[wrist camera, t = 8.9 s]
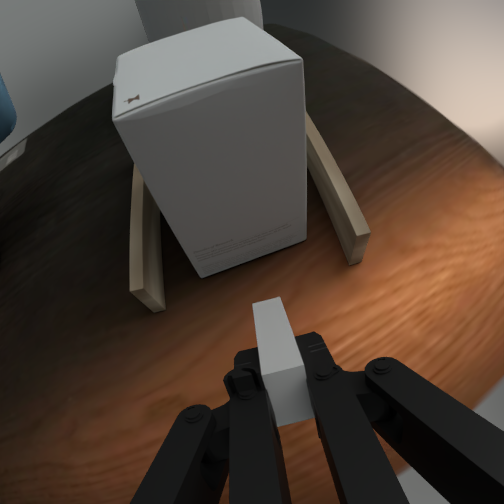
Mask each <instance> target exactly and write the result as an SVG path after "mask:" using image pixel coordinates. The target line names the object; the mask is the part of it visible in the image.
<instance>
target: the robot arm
mask: <svg viewBox="0 0 504 504" xmlns="http://www.w3.org/2000/svg"><path fill="white" fill-rule="evenodd" d="M16 118H17V116H16V111H15V108H14V106H13V103H12V101H11V98H10V96H9V94H8V91H7V89H6V86H5V84H4V81H3V79H2V76H1V74H0V143H1V142H2V141H3V140H4V139H5V138H6V137H7V136H8V135H10V133H11V132H12V131H13V129H14V127H15V125H16ZM253 312H254V320H255V328H256V336H257V344H258V347H256V348H251V349H247V350H243V351H239V352H238V353H237V355H236V356H235V358H234V369H233V370H231V371H230V372H228V373H227V374H226V375H225V377H224V380H223V381H224V384H225V386H226V389H227V392H228V394H229V397H230V400H229V401H228V402H227V403H226V404H224V405H222V406H220V407H218V408H215V409H213V410H211V409H210V408H209V407H208V406H206V405H201V404H199V405H192V406H190V407H187V408H186V409H184V410H183V411H181V412H180V414H179V415H178V416H177V418H176V420H175V422H174V424H173V426H172V428H171V429H170V431H169V433H168V435H167V437H166V439H165V440H164V442H163V444H162V446H161V448H160V450H159V451H158V453H157V455H156V457H155V459H154V461H153V462H152V464H151V466H150V468H149V470H148V472H147V473H146V475H145V477H144V479H143V481H142V482H141V484H140V486H139V488H138V490H137V491H136V493H135V495H134V497H133V499H132V501H131V502H130V504H218V503H219V500H220V497H221V494H222V491H223V488H224V485H225V482H226V479H227V476H228V473H229V504H292V503H291V497H290V491H289V486H288V480H287V474H286V469H285V463H284V457H283V451H282V446H281V440H280V435H279V432H278V429H277V427H278V426H283V425H287V424H291V423H295V422H299V421H303V420H307V419H311V418H314V417H315V420H316V425H317V430H318V435H319V438H320V439H321V442H322V445H323V448H324V452H325V455H326V458H327V462H328V465H329V468H330V472H331V475H332V478H333V481H334V485H335V488H336V491H337V495H338V498H339V501H340V504H409V502H408V500H407V497H406V495H405V493H404V491H403V489H402V487H401V485H400V483H399V481H398V479H397V477H396V475H395V473H394V470H393V468H392V466H391V464H390V462H389V460H388V458H387V456H386V454H385V452H384V450H383V448H382V446H381V444H380V442H379V440H378V438H377V436H376V434H375V432H374V430H375V431H376V432H377V433H378V434H379V435H380V436H381V437H382V438H383V439H384V440H385V441H386V442H387V443H388V444H389V445H390V446H391V447H392V448H393V449H394V450H395V451H396V452H397V453H398V454H399V455H400V456H401V457H402V458H403V459H404V460H405V461H406V462H407V463H408V464H409V465H410V466H411V467H413V468H414V469H415V470H416V471H417V472H418V473H419V474H420V475H421V476H422V477H423V478H424V479H425V480H426V481H427V482H428V483H429V484H430V485H431V486H432V487H433V488H435V489H436V490H437V491H438V492H439V493H440V494H441V495H442V496H443V497H444V498H445V499H446V500H447V501H448V502H449V503H450V504H504V431H502V430H501V429H499V428H498V427H496V426H494V425H493V424H492V423H490V422H488V421H487V420H486V419H484V418H482V417H481V416H480V415H478V414H476V413H475V412H474V411H472V410H471V409H469V408H468V407H466V406H465V405H463V404H462V403H460V402H459V401H457V400H456V399H454V398H453V397H451V396H450V395H448V394H447V393H445V392H444V391H442V390H441V389H439V388H438V387H436V386H435V385H433V384H432V383H430V382H429V381H427V380H426V379H424V378H423V377H422V376H420V375H419V374H417V373H416V372H414V371H413V370H411V369H410V368H408V367H407V366H405V365H404V364H402V363H401V362H399V361H398V360H396V359H394V358H391V357H381V358H377V359H374V360H372V361H370V362H369V363H368V364H367V365H366V367H365V371H358V372H348V371H344V370H342V368H341V367H340V366H338V365H336V364H335V362H334V360H333V358H332V356H331V354H330V352H329V350H328V348H327V346H326V344H325V343H324V340H323V338H322V337H321V335H319V334H317V333H316V332H311V333H307V334H304V335H300V336H296V337H294V335H293V332H292V329H291V327H290V324H289V321H288V318H287V315H286V312H285V310H284V307H283V304H282V301H281V298H280V297H277V298H273V299H269V300H265V301H261V302H258V303H254V304H253ZM373 429H374V430H373Z"/></svg>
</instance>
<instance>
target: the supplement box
mask: <svg viewBox="0 0 504 504" xmlns="http://www.w3.org/2000/svg"><path fill="white" fill-rule="evenodd" d="M113 85H114V97H113V108H112V120H113V122H114V124H115V126H116V128H117V130H118V132H119V134H120V136H121V138H122V140H123V142H124V144H125V146H126V148H127V150H128V152H129V153H130V155H131V157H132V159H133V161H134V163H135V165H136V167H137V168H138V170H139V172H140V174H141V176H142V178H143V179H144V181H145V183H146V185H147V187H148V189H149V190H150V192H151V194H152V196H153V198H154V199H155V201H156V203H157V205H158V206H159V208H160V210H161V212H162V214H163V215H164V217H165V219H166V221H167V222H168V224H169V226H170V227H171V229H172V231H173V233H174V234H175V236H176V238H177V240H178V241H179V243H180V245H181V246H182V248H183V250H184V252H185V253H186V255H187V256H188V258H189V260H190V261H191V263H192V265H193V266H194V268H195V270H196V271H197V273H198V275H199V276H200V278H204V277H206V276H209V275H212V274H215V273H217V272H220V271H223V270H225V269H228V268H231V267H234V266H236V265H239V264H242V263H245V262H247V261H250V260H253V259H255V258H258V257H261V256H263V255H266V254H269V253H272V252H274V251H277V250H280V249H283V248H285V247H288V246H291V245H293V244H296V243H299V242H301V241H304V240H306V238H307V158H306V156H307V154H306V112H305V89H304V70H303V59H302V58H301V57H299V56H298V55H297V54H295V53H294V52H293V51H291V50H290V49H289V48H287V47H286V46H285V45H283V44H282V43H280V42H279V41H278V40H276V39H275V38H273V37H272V36H271V35H269V34H268V33H266V32H265V31H263V30H262V29H260V28H259V27H258V26H256V25H255V24H253V23H252V22H250V21H249V20H247V19H246V18H244V17H239V18H233V19H228V20H223V21H219V22H216V23H212V24H209V25H205V26H202V27H199V28H195V29H192V30H189V31H185V32H182V33H179V34H176V35H173V36H169V37H166V38H163V39H160V40H157V41H155V42H152V43H149V44H146V45H144V46H141V47H138V48H136V49H134V50H131V51H129V52H127V53H124V54H122V55H120V56H119V57H118V58H117V60H116V71H115V77H114V80H113Z"/></svg>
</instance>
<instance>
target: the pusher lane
mask: <svg viewBox="0 0 504 504" xmlns="http://www.w3.org/2000/svg"><path fill="white" fill-rule="evenodd" d="M305 112H306V110H305ZM306 154H307V156H306V158H307V167H308V169H309V171H310V174H311V176H312V178H313V180H314V182H315V185H316V187H317V189H318V191H319V194H320V196H321V198H322V200H323V203H324V205H325V207H326V210H327V212H328V214H329V217H330V219H331V222H332V224H333V226H334V229H335V231H336V234H337V236H338V238H339V241H340V243H341V246H342V248H343V251H344V253H345V256H346V259H347V261H348V264H349V265H352V264H356V263H359V262H361V261H362V258H363V255H364V252H365V249H366V246H367V243H368V240H369V237H370V234H371V231H370V229H369V227H368V225H367V223H366V221H365V219H364V217H363V215H362V213H361V210H360V208H359V206H358V204H357V202H356V200H355V198H354V196H353V194H352V192H351V191H350V189H349V187H348V185H347V183H346V181H345V179H344V177H343V175H342V173H341V171H340V170H339V168H338V166H337V164H336V162H335V160H334V159H333V157H332V155H331V153H330V151H329V150H328V148H327V146H326V144H325V143H324V141H323V139H322V137H321V136H320V134H319V132H318V130H317V129H316V127H315V125H314V124H313V122H312V120H311V119H310V117H309V115H308V114H307V112H306ZM130 292H131V293H132V294H133V295H134V296H136V297H137V298H138V299H139V300H140V301H141V302H142V303H143V304H145V305H146V306H147V307H148V308H149V309H150V310H152V311H153V312H159V311H163V310H166V306H165V294H164V281H163V266H162V248H161V226H160V208H159V206H158V205H157V203H156V201H155V199H154V198H153V196H152V194H151V192H150V190H149V189H148V187H147V185H146V183H145V181H144V179H143V178H142V176H141V174H140V172H139V170H138V168H137V167H136V165H135V163H134V172H133V185H132V201H131V222H130Z"/></svg>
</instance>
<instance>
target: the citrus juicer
mask: <svg viewBox="0 0 504 504" xmlns="http://www.w3.org/2000/svg"><path fill="white" fill-rule="evenodd" d="M135 3H136V6H137V8H138V11H139V14H140V17H141V20H142V23H143V26H144V29H145V32H146V34H147V37H148V40H149V43H152V42H155V41H157V40H160V39H163V38H166V37H169V36H173V35H176V34H179V33H182V32H185V31H189V30H192V29H195V28H199V27H202V26H205V25H209V24H212V23H216V22H219V21H223V20H228V19H233V18H239V17H244V18H246V19H247V20H249V21H250V22H252V23H253V24H255V25H256V26H258V27H259V28H260V29H262V30H263V21H262V12H261V5H260V0H135Z"/></svg>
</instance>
